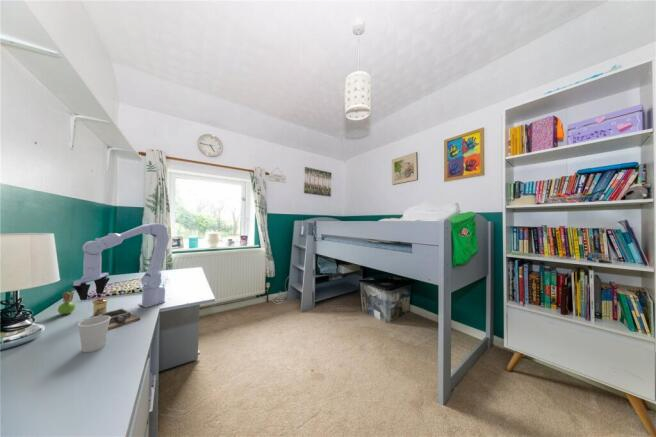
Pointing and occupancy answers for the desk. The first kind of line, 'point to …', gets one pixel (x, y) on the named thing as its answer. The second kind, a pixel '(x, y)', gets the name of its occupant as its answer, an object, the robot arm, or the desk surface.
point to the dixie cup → (93, 332)
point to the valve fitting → (99, 306)
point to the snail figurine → (67, 303)
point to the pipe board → (116, 324)
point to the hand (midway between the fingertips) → (91, 296)
